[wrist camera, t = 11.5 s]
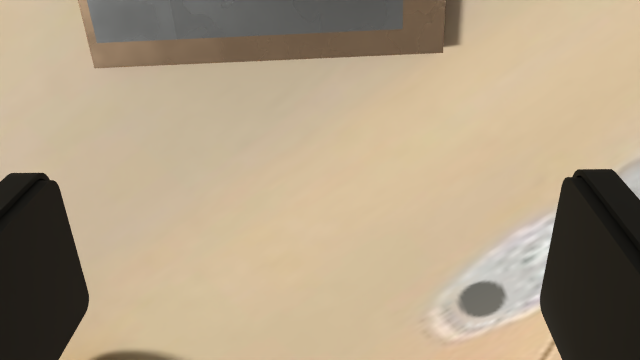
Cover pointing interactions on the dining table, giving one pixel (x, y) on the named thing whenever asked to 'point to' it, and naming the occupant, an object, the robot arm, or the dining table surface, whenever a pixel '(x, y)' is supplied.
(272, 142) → the dining table surface
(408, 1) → the well
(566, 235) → the robot arm
